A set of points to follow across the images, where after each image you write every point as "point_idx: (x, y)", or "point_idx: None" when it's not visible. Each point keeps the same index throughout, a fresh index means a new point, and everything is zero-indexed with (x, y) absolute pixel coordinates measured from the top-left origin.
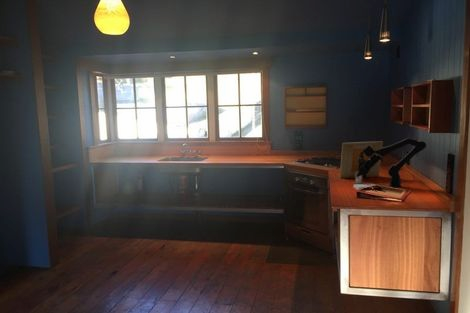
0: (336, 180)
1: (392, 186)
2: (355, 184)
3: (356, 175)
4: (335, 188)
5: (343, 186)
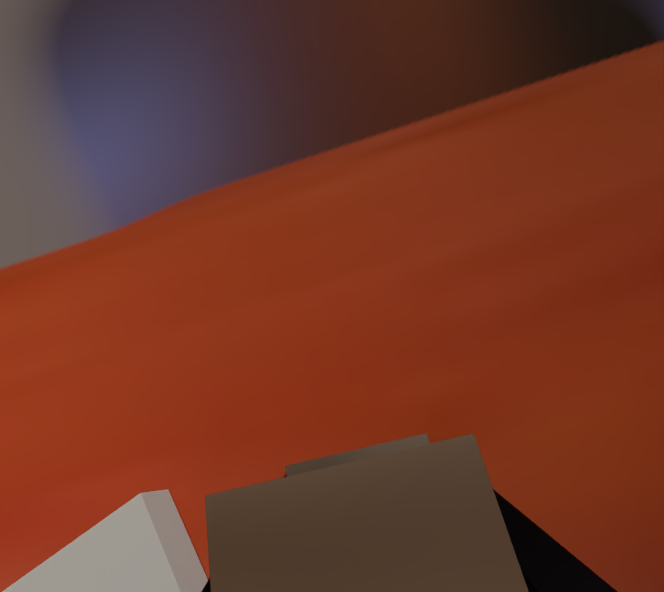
0: (617, 97)
1: None
2: (155, 530)
3: None
4: (50, 270)
5: (207, 316)
